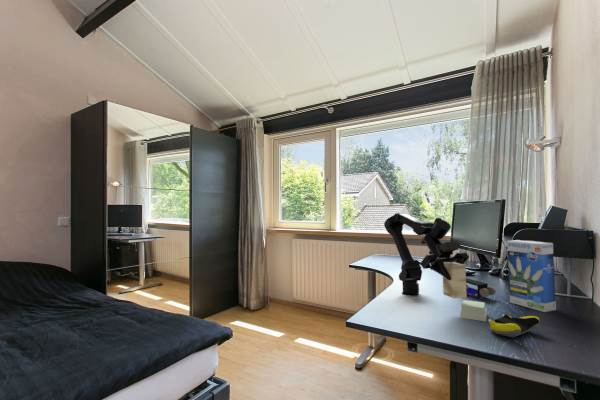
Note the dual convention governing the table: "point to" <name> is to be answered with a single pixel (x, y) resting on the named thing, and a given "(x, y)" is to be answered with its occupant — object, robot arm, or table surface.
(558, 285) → the table surface
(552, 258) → the string lights box
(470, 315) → the bottom slab
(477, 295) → the figurine character
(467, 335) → the table surface
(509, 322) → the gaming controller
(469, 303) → the top slab
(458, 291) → the maple block
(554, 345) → the table surface
